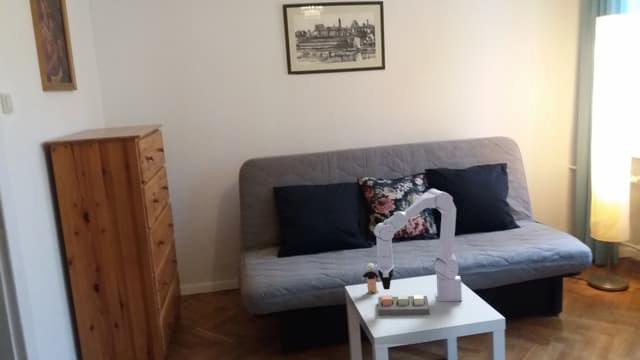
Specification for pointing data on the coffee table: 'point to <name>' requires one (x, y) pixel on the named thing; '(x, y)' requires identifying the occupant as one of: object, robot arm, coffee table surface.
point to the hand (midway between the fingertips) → (386, 288)
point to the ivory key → (418, 300)
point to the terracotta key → (387, 300)
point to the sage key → (402, 300)
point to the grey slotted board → (403, 308)
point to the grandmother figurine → (371, 279)
